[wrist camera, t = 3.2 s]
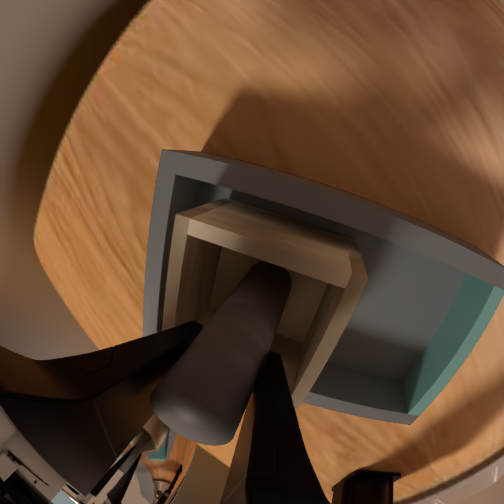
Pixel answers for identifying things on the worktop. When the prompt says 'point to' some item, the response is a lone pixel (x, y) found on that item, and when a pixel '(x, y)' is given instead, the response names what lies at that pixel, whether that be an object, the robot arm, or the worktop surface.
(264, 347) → the crate
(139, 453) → the beer glass
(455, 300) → the bay
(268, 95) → the worktop surface
